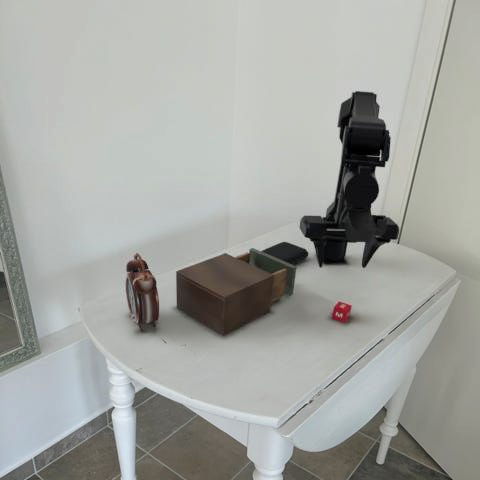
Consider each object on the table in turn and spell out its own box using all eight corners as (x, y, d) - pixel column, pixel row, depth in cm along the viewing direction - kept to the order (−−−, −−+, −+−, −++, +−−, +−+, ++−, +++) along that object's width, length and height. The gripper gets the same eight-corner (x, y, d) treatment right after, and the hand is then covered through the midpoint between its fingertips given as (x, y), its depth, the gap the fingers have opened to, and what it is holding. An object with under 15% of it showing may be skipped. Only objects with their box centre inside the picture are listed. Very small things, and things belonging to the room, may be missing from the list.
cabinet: (224, 288, 114) (225, 252, 110) (270, 311, 106) (274, 275, 101) (176, 308, 105) (175, 271, 100) (223, 336, 97) (224, 297, 92)
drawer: (254, 273, 120) (256, 246, 116) (296, 293, 112) (299, 265, 108) (211, 291, 110) (211, 263, 107) (253, 314, 103) (256, 284, 99)
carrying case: (279, 247, 137) (246, 262, 127) (280, 237, 135) (246, 251, 126) (310, 259, 131) (278, 275, 122) (312, 248, 130) (279, 264, 120)
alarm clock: (126, 311, 103) (121, 246, 95) (149, 307, 105) (145, 244, 97) (138, 338, 95) (133, 269, 87) (162, 334, 96) (159, 266, 88)
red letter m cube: (344, 322, 104) (347, 311, 102) (331, 318, 105) (333, 306, 103) (349, 317, 106) (351, 305, 104) (336, 312, 107) (338, 301, 106)
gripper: (317, 203, 83) (306, 284, 91) (420, 206, 85) (400, 284, 93) (303, 186, 93) (294, 260, 100) (396, 188, 95) (379, 261, 103)
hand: (341, 267), depth 99 cm, fingers open, 9 cm apart
